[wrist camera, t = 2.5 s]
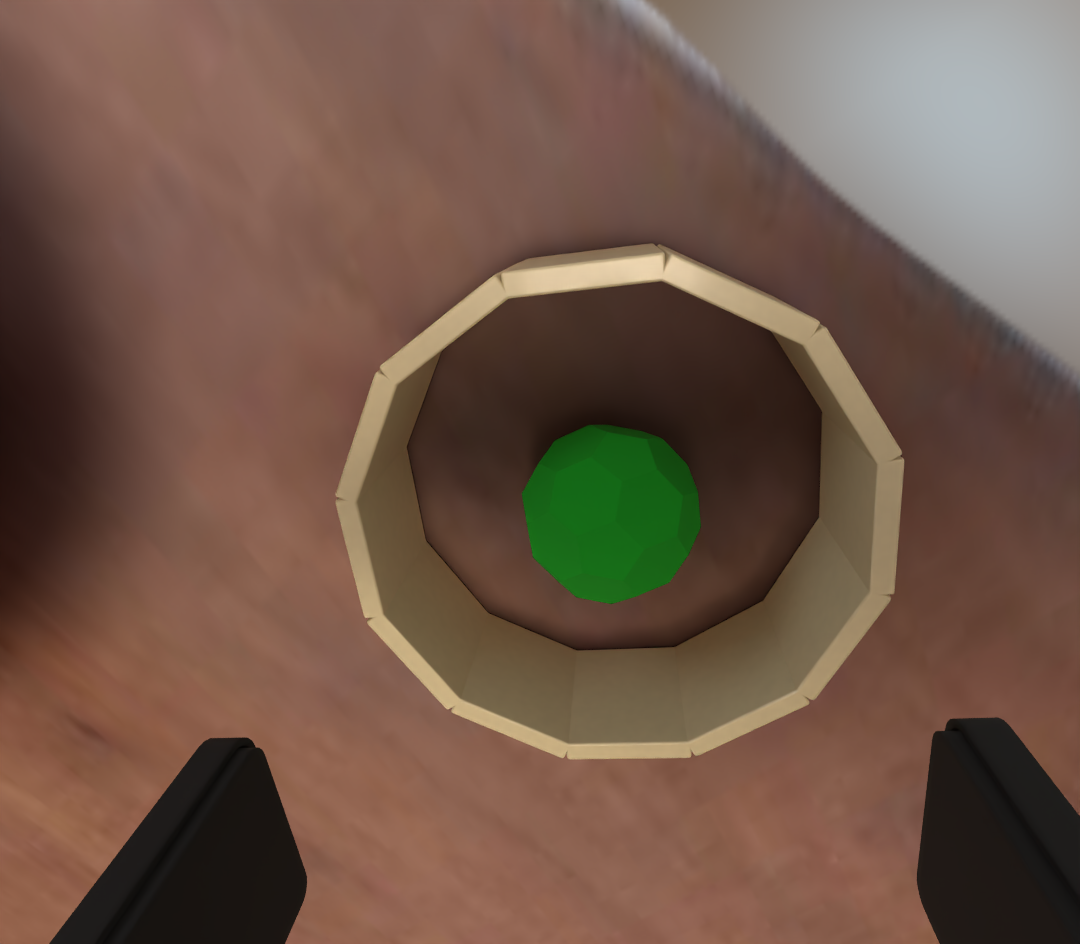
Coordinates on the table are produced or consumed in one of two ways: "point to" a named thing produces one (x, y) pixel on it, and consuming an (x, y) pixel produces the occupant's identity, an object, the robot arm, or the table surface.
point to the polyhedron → (611, 512)
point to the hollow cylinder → (643, 673)
